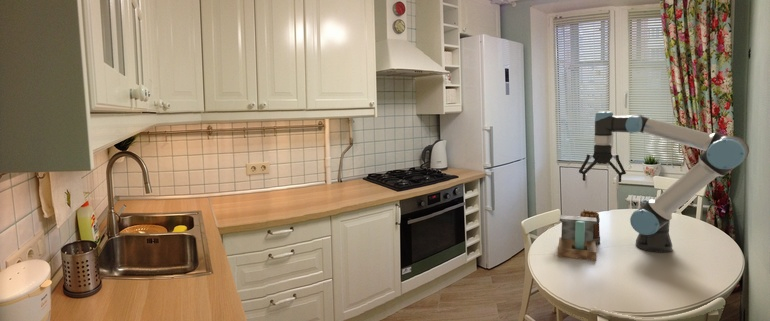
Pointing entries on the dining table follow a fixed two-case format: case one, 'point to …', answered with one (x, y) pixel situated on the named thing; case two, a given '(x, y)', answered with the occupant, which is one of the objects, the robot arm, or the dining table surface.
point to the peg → (579, 235)
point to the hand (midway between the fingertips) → (601, 188)
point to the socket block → (568, 238)
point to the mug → (596, 226)
